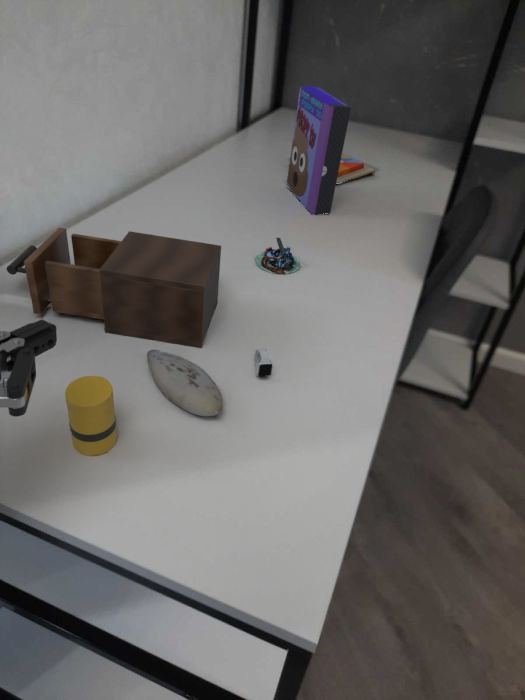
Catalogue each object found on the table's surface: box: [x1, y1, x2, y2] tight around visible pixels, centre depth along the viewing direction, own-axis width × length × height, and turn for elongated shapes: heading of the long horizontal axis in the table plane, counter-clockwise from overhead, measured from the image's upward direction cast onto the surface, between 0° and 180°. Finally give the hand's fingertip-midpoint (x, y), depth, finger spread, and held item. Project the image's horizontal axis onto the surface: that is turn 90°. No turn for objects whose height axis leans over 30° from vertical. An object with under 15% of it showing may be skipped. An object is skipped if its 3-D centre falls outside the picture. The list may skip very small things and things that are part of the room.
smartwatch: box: [253, 348, 274, 377], centre depth 74 cm, size 4×2×4 cm, turn 13°
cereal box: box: [286, 85, 352, 215], centre depth 122 cm, size 17×5×24 cm, turn 18°
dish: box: [254, 236, 301, 275], centre depth 102 cm, size 8×7×8 cm
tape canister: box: [64, 375, 118, 457], centre depth 60 cm, size 5×5×8 cm
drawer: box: [6, 227, 122, 320], centre depth 80 cm, size 18×12×9 cm, turn 83°
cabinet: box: [99, 230, 222, 349], centre depth 80 cm, size 15×13×11 cm
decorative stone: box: [145, 349, 224, 417], centre depth 69 cm, size 6×16×3 cm, turn 45°
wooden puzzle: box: [336, 153, 376, 183], centre depth 148 cm, size 18×19×4 cm
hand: (50, 331), depth 48 cm, fingers closed
